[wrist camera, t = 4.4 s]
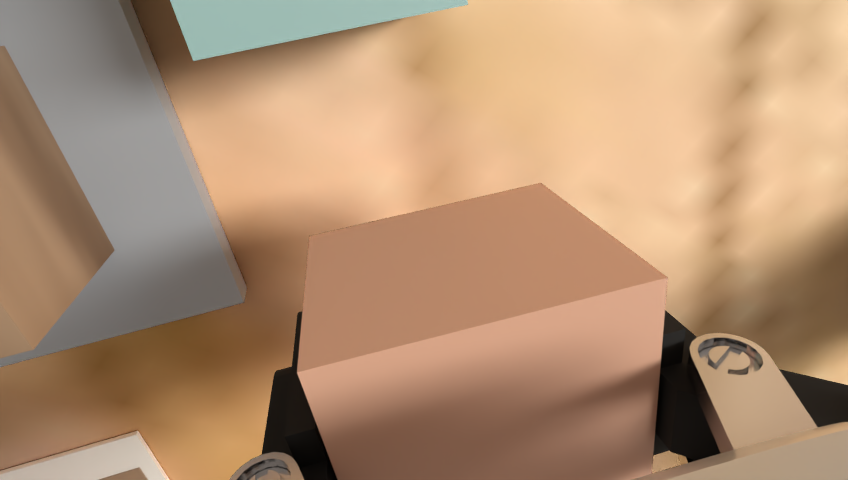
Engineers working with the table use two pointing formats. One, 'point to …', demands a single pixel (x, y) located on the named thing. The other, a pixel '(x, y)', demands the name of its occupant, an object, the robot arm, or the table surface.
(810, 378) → the robot arm
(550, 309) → the salmon pink block
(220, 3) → the brick teal
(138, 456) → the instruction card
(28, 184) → the brick walnut base
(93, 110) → the board
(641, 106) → the table surface
